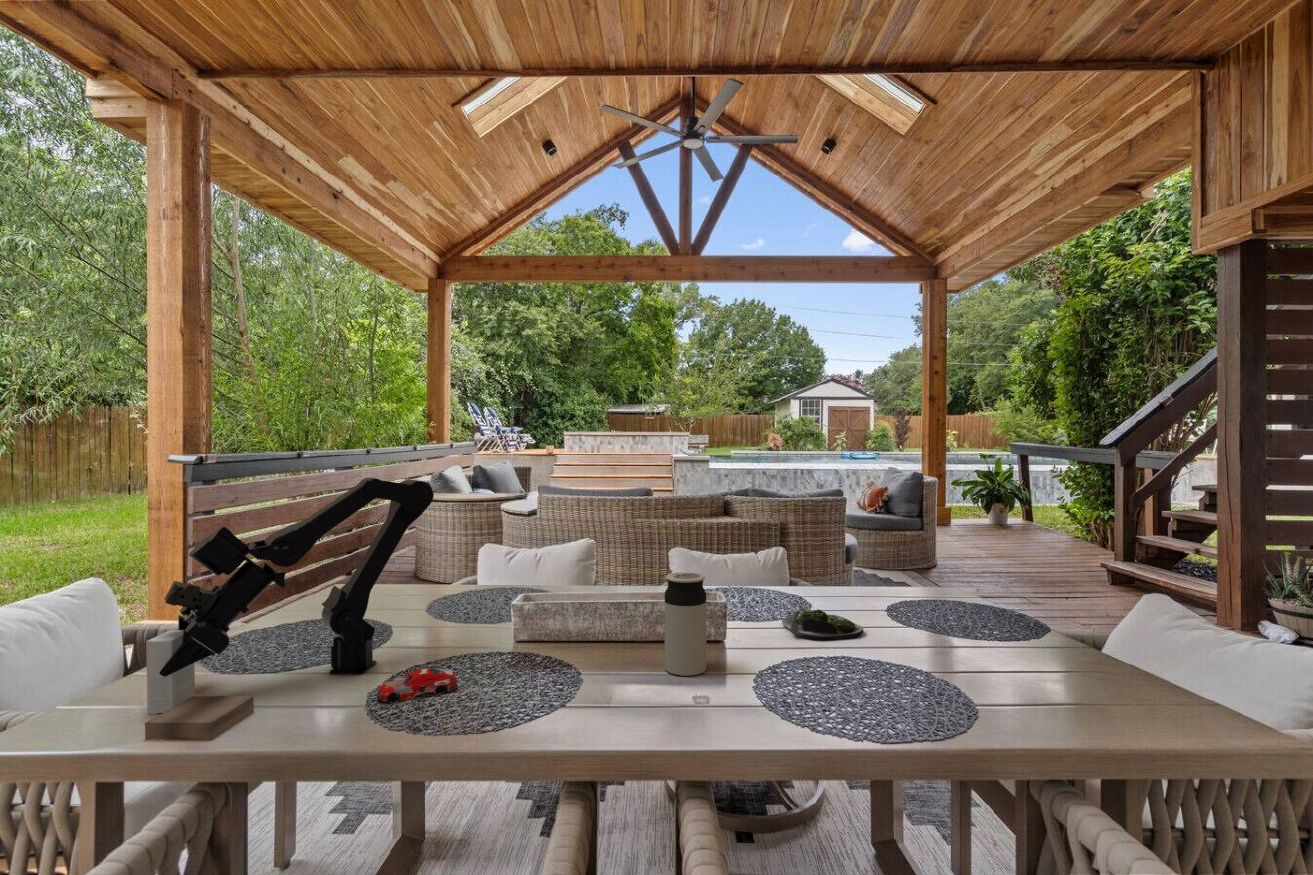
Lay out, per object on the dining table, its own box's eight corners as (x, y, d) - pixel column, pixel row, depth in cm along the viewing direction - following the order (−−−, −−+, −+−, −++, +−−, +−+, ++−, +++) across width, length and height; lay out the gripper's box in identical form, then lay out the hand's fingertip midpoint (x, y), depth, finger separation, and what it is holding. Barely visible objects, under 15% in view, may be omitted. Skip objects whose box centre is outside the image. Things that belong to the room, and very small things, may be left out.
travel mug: (714, 669, 129) (714, 575, 129) (687, 680, 123) (687, 582, 123) (683, 659, 134) (683, 569, 134) (656, 670, 128) (655, 576, 128)
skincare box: (169, 700, 114) (169, 629, 114) (195, 699, 115) (195, 629, 115) (145, 714, 108) (145, 640, 108) (173, 713, 108) (173, 639, 108)
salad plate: (764, 620, 163) (764, 601, 163) (832, 616, 167) (832, 598, 167) (798, 644, 144) (798, 623, 144) (873, 639, 148) (873, 618, 148)
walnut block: (253, 714, 109) (253, 696, 109) (211, 742, 99) (211, 722, 99) (193, 714, 109) (193, 696, 109) (145, 742, 99) (144, 722, 99)
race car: (377, 707, 112) (377, 683, 112) (375, 696, 117) (375, 673, 116) (459, 693, 117) (459, 671, 117) (454, 683, 122) (454, 661, 122)
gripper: (195, 555, 121) (116, 627, 114) (204, 571, 106) (115, 655, 100) (245, 592, 126) (173, 664, 119) (261, 613, 111) (180, 695, 104)
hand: (160, 668), depth 110 cm, fingers open, 7 cm apart
